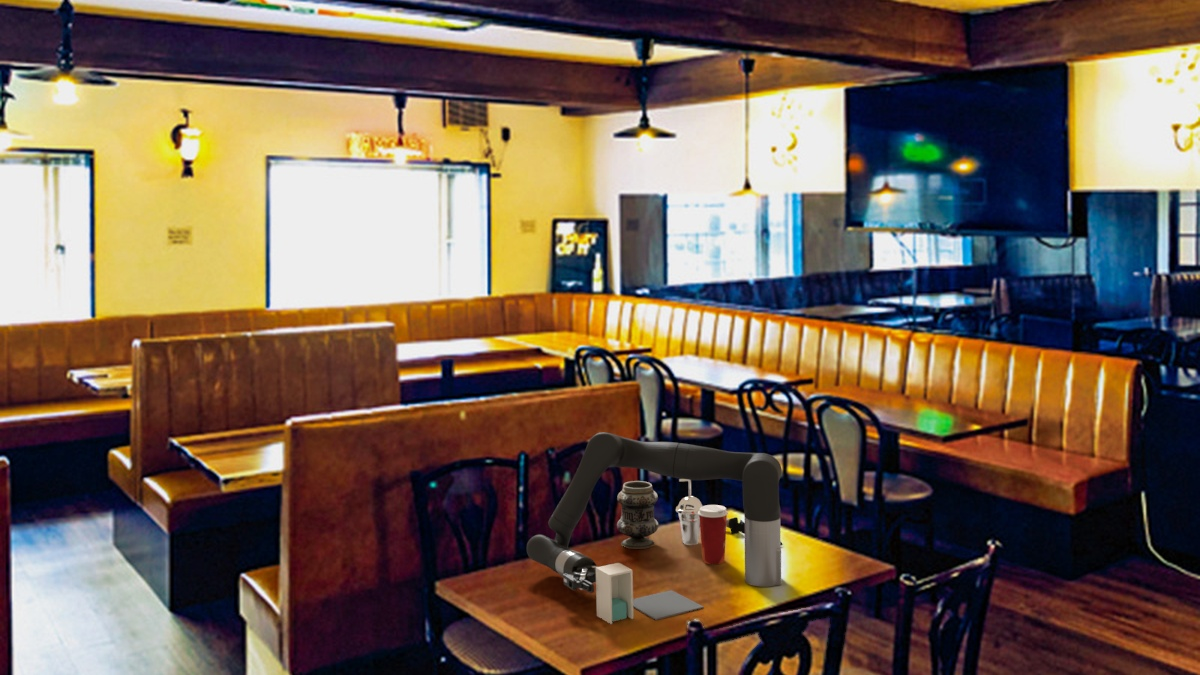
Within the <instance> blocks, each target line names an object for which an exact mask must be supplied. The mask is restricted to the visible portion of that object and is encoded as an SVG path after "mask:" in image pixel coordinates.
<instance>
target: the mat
mask: <svg viewBox="0 0 1200 675" xmlns="http://www.w3.org/2000/svg"><path fill="white" fill-rule="evenodd" d="M700 608H702V609H704V606H703V605H701V604H699V603H697V602H695V601H693V600H692V599H689V598H687V597H686V596H684V595H682V594H680V593H678V592H676V591H675V590H672V589H670V590H666V591H661V592H657V593H653V594H649V595H648V594H647V595H645V596H640V597H636V598H633V609H635V610H637V611H638V612H640V611H641V612H640V613H642V614H643V615H646V616H648V617H649V618H651V619H652V620H654V619H655V621H657V620H662V619H666V618H670V617H673V616H677V615H682V614H686V613H690V612H693V610H694V611H698V610H701V609H700ZM697 609H698V610H697ZM689 611H690V612H689Z"/></svg>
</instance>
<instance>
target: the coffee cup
mask: <svg viewBox="0 0 1200 675" xmlns="http://www.w3.org/2000/svg"><path fill="white" fill-rule="evenodd" d="M698 514H699V518H700V532H699V533H700V544H701V556H702V557H701V558H702V563H704V562H705V564H706V563H708V564H707V565H721V564H723V563H725V556H726V542H727V541H726V539H727V538H726V537H727V535H726V534H727V527H726V520H727V518H728V515H729V513H728V510H727V507H725V506H724V505H718V504H707V505H702V507H701V508H700V510H699V512H698ZM720 563H721V564H720Z"/></svg>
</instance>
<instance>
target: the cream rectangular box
mask: <svg viewBox="0 0 1200 675" xmlns="http://www.w3.org/2000/svg"><path fill="white" fill-rule="evenodd" d="M609 564H610V563H609ZM633 573H634V572H633V569H632V568H629V567H628V566H626V565H624V564H622V563H620V562H615V563H611V564H610V565H608V564H607V565H606V564H605V565H602V566H598V567H596V583H595V593H596V595H595V596H596V598H595V599H596V617H597V618H600V619H601V618H602V619H601V620H603V621H605V622H606V621H607V622H606V623H608V624H609V623H610V624H609V625H613V622H612V599H613V598H617V597H618V598H619V599H621V600H623V601H625V602H626V615H627V616H628V618H630V619H631V620H633V619H634V608H633V599H634V581H633V575H634V574H633Z"/></svg>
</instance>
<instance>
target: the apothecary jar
mask: <svg viewBox="0 0 1200 675" xmlns="http://www.w3.org/2000/svg"><path fill="white" fill-rule="evenodd" d="M658 499H659V497H658V493H657V492H656V491H655V490H654V489H653V485H652V483H650V482H649V481H648V482H647V481H641V480H634V481H633V480H630V481H627V482H624V483H623V485H622V490H621V491H620V492H618V494H617V498H616V500H617V502H618V503H619V504H620V505H621V515H620V519H619V520H618V521H617V523H616V528H617V530H618V531H619V533H621V534H622V535H624V536H626V537H627V536H628V538H626V539H624V540H622V541H621V542H620V545H621V547H623V546H624V547H623V548H625V547H626V548H625V549H629V550H643V549H644V550H645V549H650V548H652V547H654V546H655V545H656V543H655V541H654V540H653V539H650V538H648V537H649V536H652V535H653V534H655V533H656V532H657V531H658V528H659V522H658V521H657V519H655V504H657V502H658Z"/></svg>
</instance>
